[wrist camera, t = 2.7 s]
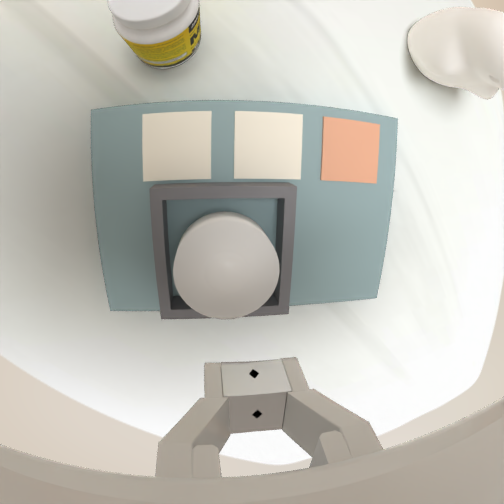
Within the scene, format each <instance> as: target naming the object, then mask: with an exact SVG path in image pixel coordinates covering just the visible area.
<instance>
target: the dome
mask: <svg viewBox="0 0 504 504" xmlns="http://www.w3.org/2000/svg"><path fill="white" fill-rule="evenodd" d="M173 277H174V283H175V286H176V289H177V291H178V293H179V295H180V296H181V298H182V299H183V300H184V301H185V303H186V304H187V305H189V306H190V307H191V308H192V309H194V310H195V311H196V312H198V313H200V314H202V315H205V316H208V317H211V318H216V319H234V318H239V317H242V316H245V315H248V314H250V313H252V312H254V311H255V310H257V309H259V308H260V307H261V306H262V305H263V304H264V303H265V302H266V301H267V300H268V299H269V298H270V296H271V295H272V293H273V292H274V290H275V288H276V285H277V282H278V278H279V260H278V256H277V253H276V251H275V249H274V247H273V245H272V243H271V242H270V240H269V239H268V237H267V235H266V234H265V232H264V231H263V229H262V228H261V227H260V226H259V225H258V224H257V223H256V222H255V221H253V220H252V219H250V218H249V217H247V216H245V215H242V214H239V213H235V212H226V211H223V212H215V213H211V214H208V215H205V216H203V217H201V218H199V219H198V220H196V221H195V222H194V223H192V224H191V225H190V226H189V227H188V228H187V230H186V231H185V232H184V234H183V236H182V237H181V240H180V242H179V245H178V249H177V252H176V256H175V260H174V266H173Z"/></svg>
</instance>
